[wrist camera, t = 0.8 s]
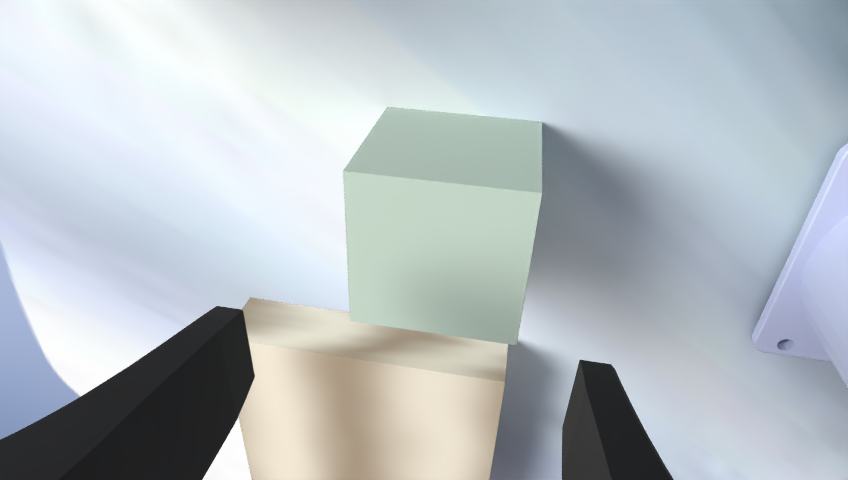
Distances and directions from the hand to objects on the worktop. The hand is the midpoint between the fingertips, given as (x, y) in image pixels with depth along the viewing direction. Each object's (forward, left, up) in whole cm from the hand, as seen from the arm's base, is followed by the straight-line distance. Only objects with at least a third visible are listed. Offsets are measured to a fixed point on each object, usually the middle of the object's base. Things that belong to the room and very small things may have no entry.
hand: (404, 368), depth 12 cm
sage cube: (0, 0, -9) cm, 9 cm away
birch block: (+3, +12, -9) cm, 15 cm away
